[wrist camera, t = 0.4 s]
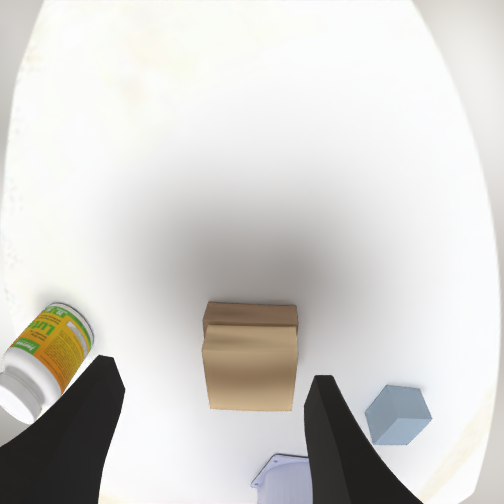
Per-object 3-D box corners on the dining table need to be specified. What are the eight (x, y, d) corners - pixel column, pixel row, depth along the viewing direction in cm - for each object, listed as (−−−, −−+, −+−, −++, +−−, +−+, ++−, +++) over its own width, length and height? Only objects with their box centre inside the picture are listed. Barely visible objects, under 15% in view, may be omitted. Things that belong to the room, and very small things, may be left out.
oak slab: (289, 385, 22) (291, 411, 19) (214, 383, 22) (210, 408, 20) (295, 326, 20) (298, 352, 17) (208, 324, 20) (201, 349, 18)
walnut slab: (288, 365, 24) (289, 388, 22) (213, 362, 24) (208, 384, 22) (295, 302, 22) (298, 323, 19) (208, 299, 22) (202, 320, 20)
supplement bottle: (73, 295, 22) (5, 375, 13) (105, 348, 24) (56, 434, 15) (35, 307, 23) (-27, 375, 14) (65, 354, 25) (16, 427, 16)
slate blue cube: (397, 414, 26) (407, 444, 23) (364, 412, 26) (373, 444, 22) (419, 388, 25) (432, 419, 21) (386, 384, 24) (398, 418, 21)
